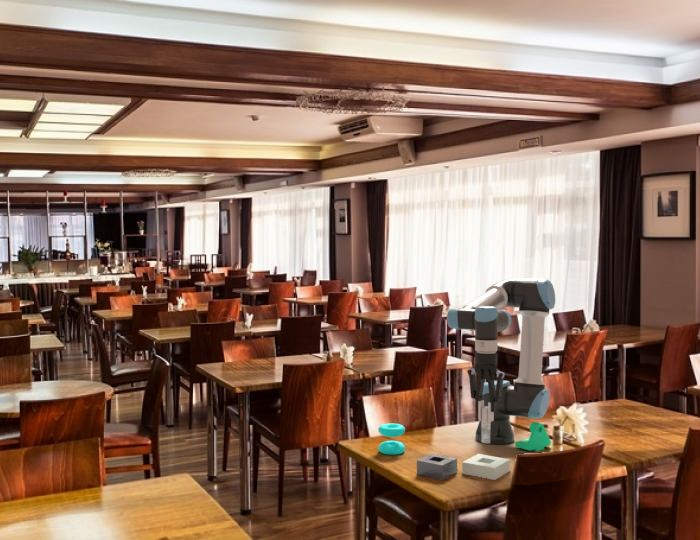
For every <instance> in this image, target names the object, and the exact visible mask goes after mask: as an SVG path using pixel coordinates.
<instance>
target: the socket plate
mask: <svg viewBox="0 0 700 540" xmlns="http://www.w3.org/2000/svg"><path fill="white" fill-rule="evenodd" d="M461 463H462V464H461V465H462V466H461V467H462V469H461V472H462V474H463V475H467V476H472V477H476V476H477V477H478V478H481V477H482V478H483V479H486V478H487V480H493V481H496V480H498V479H499V478H501V477H502V476H504V475H506V474H507V473H509V472H510V471H511V459H510V458H504V457H498V456H493V455H486V454H482V453H477V454H475V455H473V456H471V457H470V458H468V459H466V460H464V461H462V462H461Z"/></svg>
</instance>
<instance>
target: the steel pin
mask: <svg viewBox="0 0 700 540" xmlns="http://www.w3.org/2000/svg"><path fill="white" fill-rule="evenodd" d="M480 443H483V444H488V443H490V422H488V406H483V407H482V421H481V442H480Z"/></svg>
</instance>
